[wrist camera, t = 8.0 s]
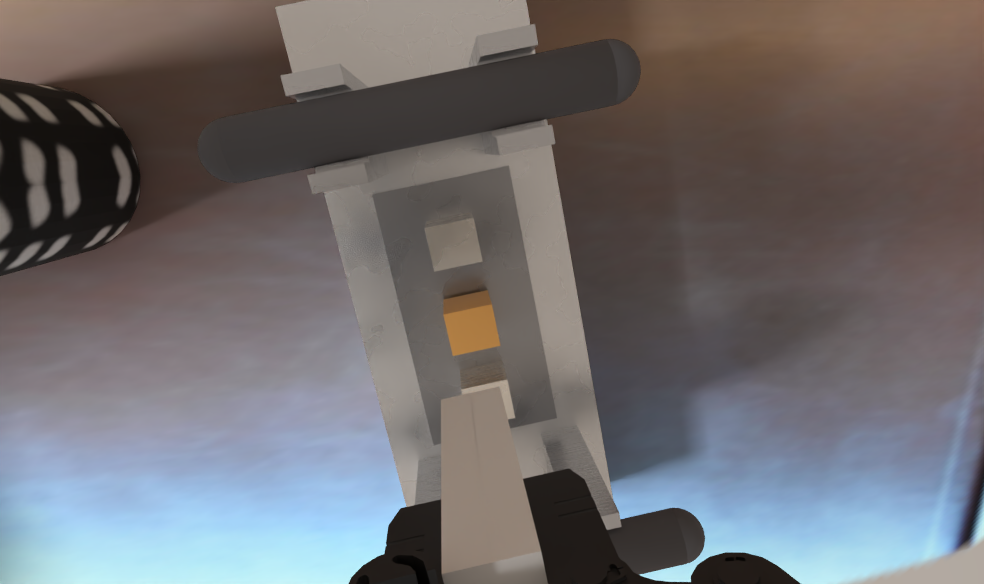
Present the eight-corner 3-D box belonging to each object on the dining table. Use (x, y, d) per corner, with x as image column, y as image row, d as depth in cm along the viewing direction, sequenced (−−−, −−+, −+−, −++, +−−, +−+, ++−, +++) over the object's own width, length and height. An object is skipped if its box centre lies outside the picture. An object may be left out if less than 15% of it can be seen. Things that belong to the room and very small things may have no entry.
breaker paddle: (452, 337, 28) (452, 356, 25) (443, 299, 28) (443, 314, 25) (495, 328, 28) (500, 345, 26) (487, 289, 28) (491, 304, 25)
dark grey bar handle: (351, 614, 24) (343, 655, 23) (337, 571, 24) (328, 608, 22) (695, 536, 25) (716, 569, 23) (689, 492, 24) (710, 522, 22)
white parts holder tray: (431, 524, 37) (425, 725, 24) (307, 34, 31) (206, -52, 18) (594, 487, 38) (673, 667, 24) (504, -6, 31) (548, -119, 18)
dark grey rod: (222, 186, 21) (198, 190, 19) (203, 125, 20) (177, 122, 18) (634, 101, 21) (653, 96, 19) (624, 39, 20) (644, 27, 18)
